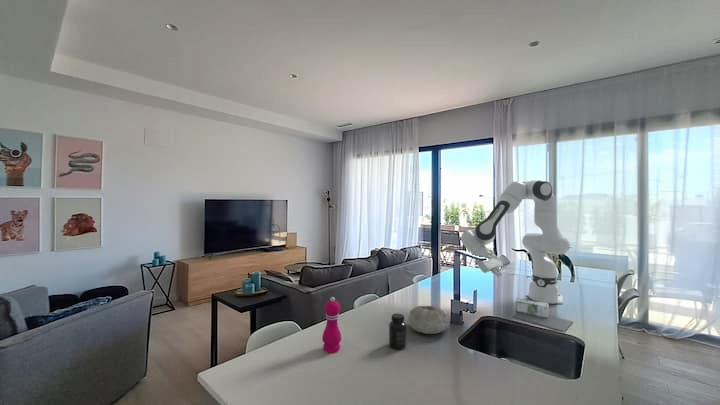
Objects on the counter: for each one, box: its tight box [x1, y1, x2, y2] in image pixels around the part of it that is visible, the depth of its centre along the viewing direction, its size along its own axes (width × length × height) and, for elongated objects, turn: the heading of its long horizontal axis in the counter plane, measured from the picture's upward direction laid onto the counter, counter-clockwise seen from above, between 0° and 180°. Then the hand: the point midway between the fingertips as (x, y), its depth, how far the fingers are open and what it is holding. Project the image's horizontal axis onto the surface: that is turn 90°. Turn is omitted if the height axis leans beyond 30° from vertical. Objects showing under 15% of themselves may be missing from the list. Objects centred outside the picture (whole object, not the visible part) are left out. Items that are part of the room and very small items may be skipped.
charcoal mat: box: [511, 312, 574, 333], centre depth 144 cm, size 16×22×1 cm
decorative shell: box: [408, 305, 451, 335], centre depth 130 cm, size 18×18×10 cm
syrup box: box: [515, 297, 550, 318], centre depth 151 cm, size 6×6×14 cm
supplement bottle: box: [388, 312, 407, 351], centre depth 115 cm, size 7×7×12 cm
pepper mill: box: [321, 296, 342, 354], centre depth 112 cm, size 7×7×20 cm
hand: (500, 276), depth 158 cm, fingers closed
